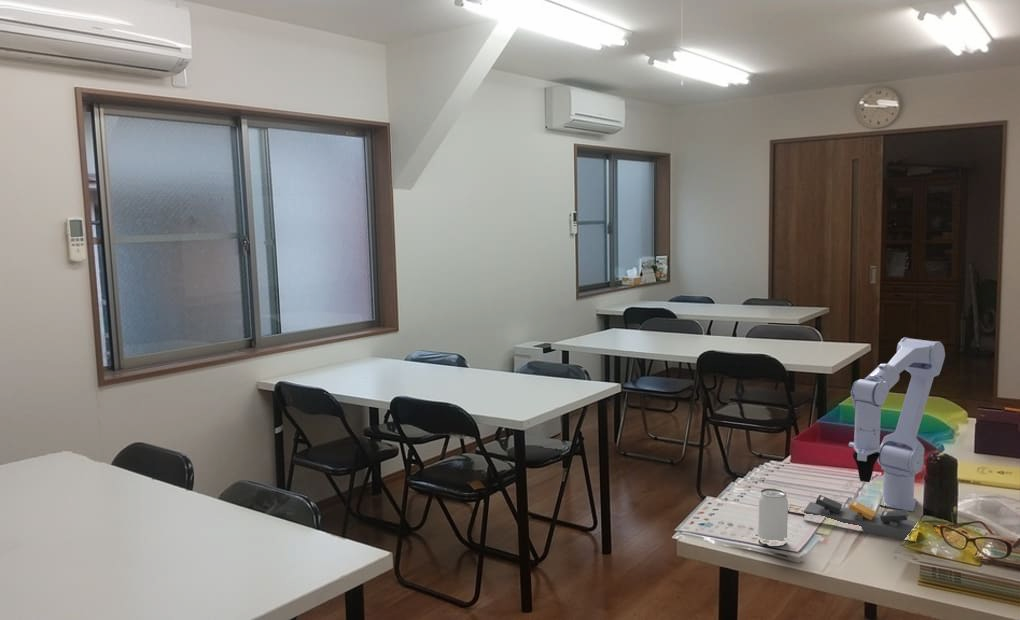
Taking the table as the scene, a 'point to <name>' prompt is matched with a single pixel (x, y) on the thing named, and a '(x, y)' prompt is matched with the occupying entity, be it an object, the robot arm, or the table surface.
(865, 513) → the orange rocker
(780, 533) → the can
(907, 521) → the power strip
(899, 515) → the black rocker
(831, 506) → the black rocker
